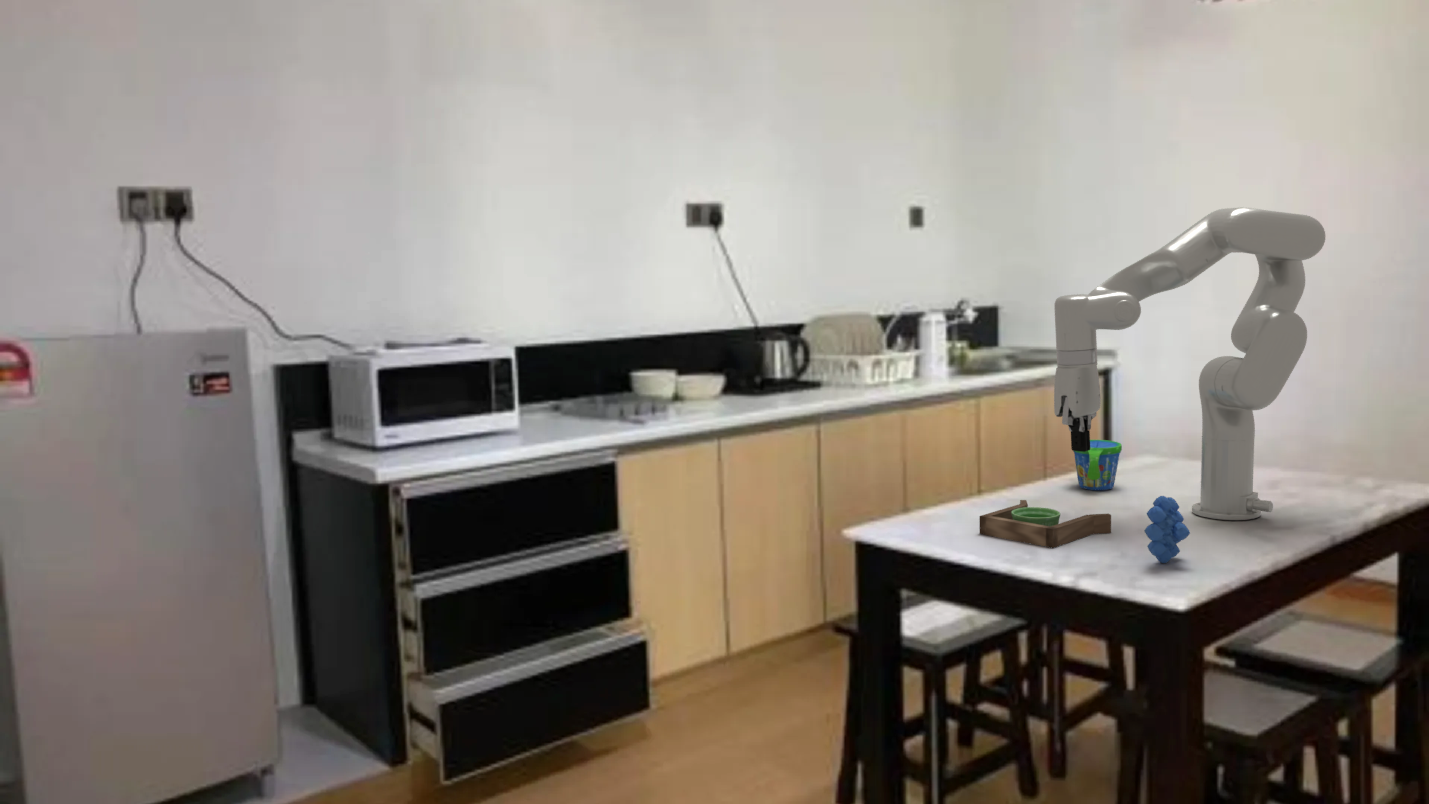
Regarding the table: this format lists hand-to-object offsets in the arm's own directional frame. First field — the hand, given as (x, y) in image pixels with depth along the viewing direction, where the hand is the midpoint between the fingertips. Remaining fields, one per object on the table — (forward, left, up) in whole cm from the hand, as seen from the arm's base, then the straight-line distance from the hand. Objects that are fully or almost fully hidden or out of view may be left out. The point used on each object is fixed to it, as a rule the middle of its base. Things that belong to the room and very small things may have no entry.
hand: (1080, 450), depth 224 cm
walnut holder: (+1, +13, -14) cm, 19 cm away
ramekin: (+1, +15, -15) cm, 21 cm away
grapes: (-27, +17, -15) cm, 35 cm away
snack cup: (+14, -30, -15) cm, 36 cm away
